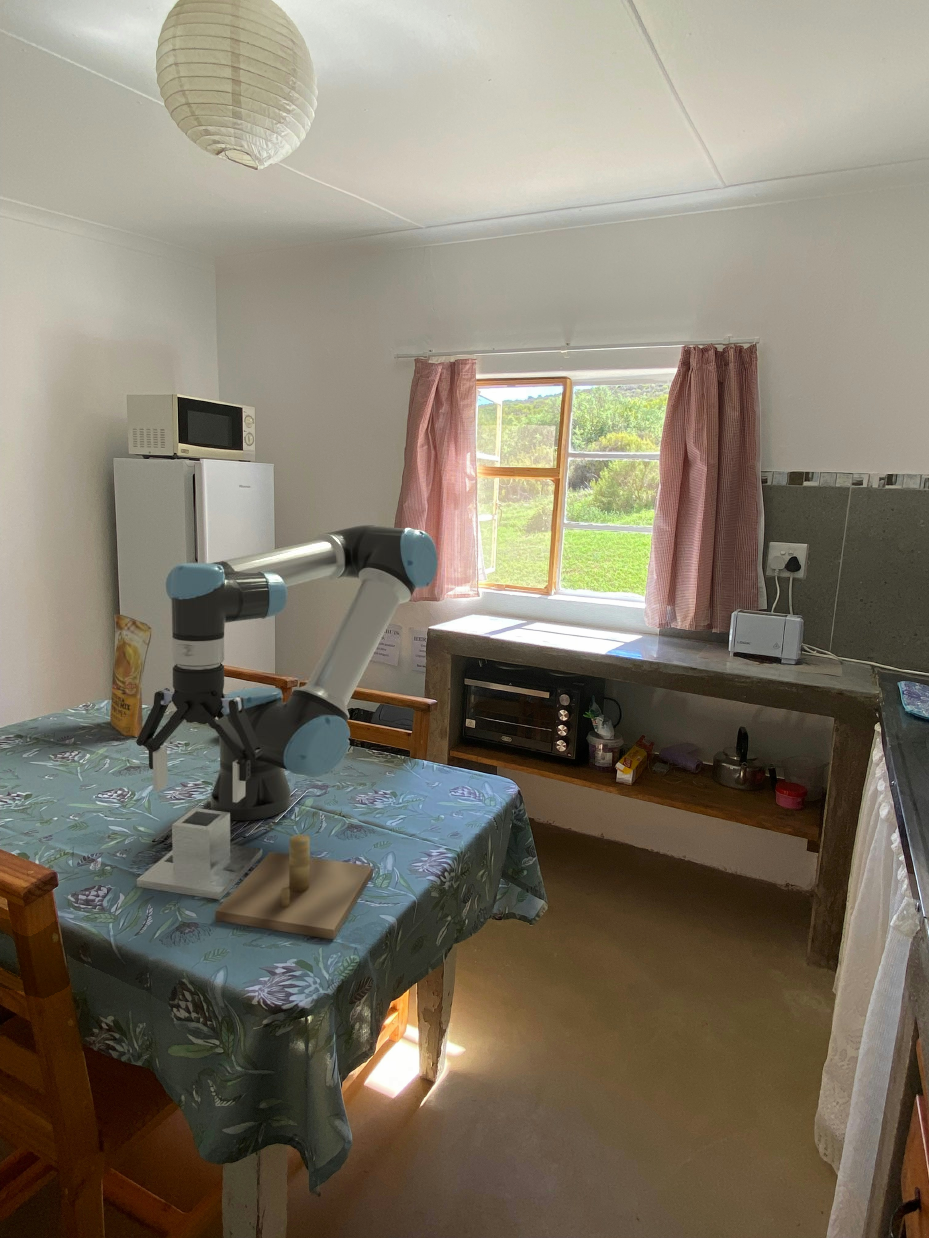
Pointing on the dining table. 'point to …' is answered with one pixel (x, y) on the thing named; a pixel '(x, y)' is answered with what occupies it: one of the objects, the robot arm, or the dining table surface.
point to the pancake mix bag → (128, 674)
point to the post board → (297, 893)
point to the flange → (201, 857)
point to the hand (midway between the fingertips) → (199, 793)
